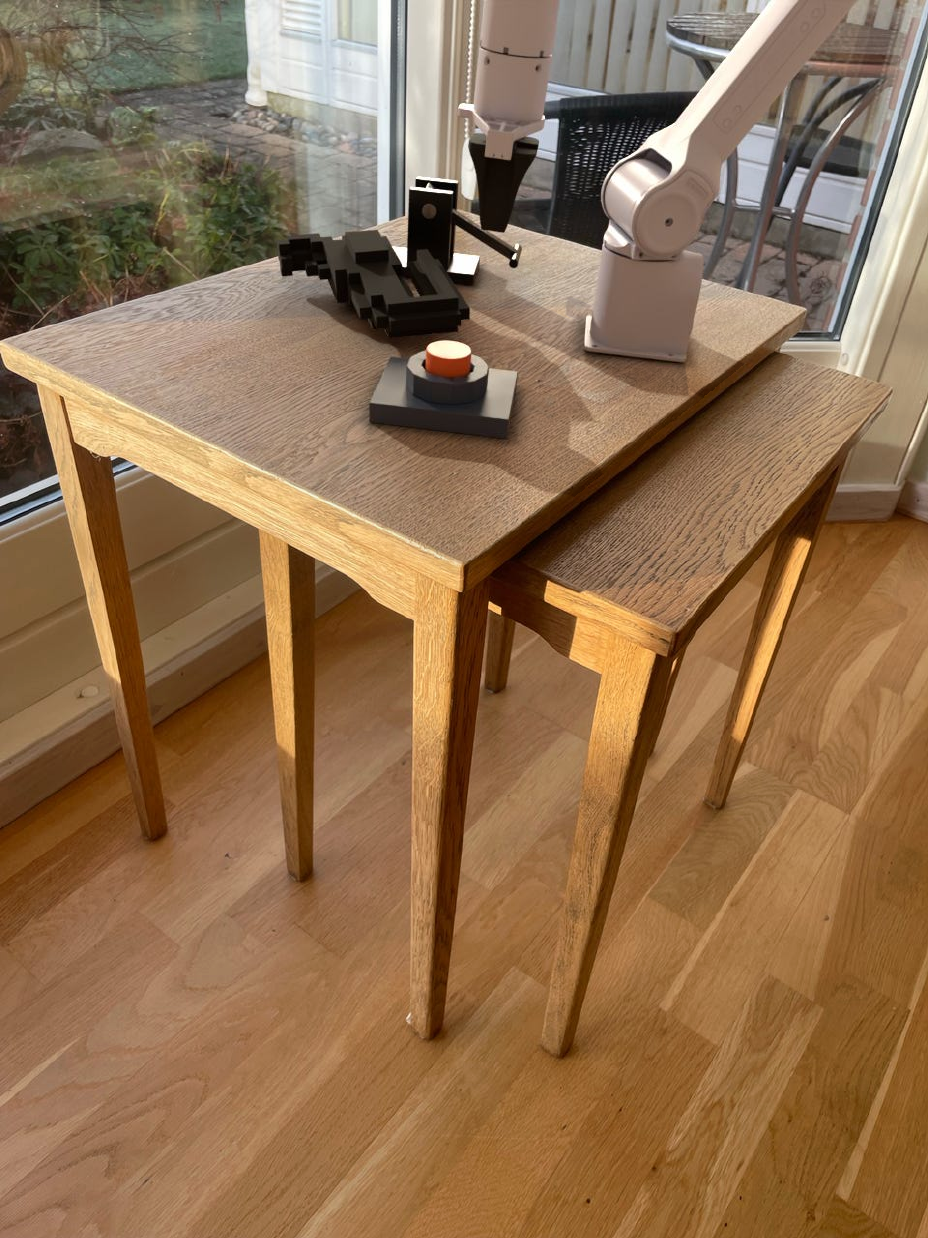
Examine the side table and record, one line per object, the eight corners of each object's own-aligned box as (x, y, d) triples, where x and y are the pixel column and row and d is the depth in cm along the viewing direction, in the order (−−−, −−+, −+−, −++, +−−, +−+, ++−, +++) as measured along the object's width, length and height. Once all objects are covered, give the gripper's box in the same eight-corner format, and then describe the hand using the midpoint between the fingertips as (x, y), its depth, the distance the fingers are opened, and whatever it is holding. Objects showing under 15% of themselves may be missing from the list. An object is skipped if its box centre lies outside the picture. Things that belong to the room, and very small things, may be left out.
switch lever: (515, 260, 107) (527, 241, 105) (511, 276, 103) (523, 256, 101) (419, 199, 104) (430, 178, 102) (412, 212, 100) (423, 191, 99)
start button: (472, 363, 81) (474, 342, 80) (467, 382, 78) (468, 361, 77) (429, 358, 81) (430, 337, 80) (422, 376, 78) (423, 355, 77)
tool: (302, 305, 83) (473, 289, 86) (273, 221, 98) (420, 211, 101) (308, 363, 87) (472, 346, 90) (279, 274, 102) (420, 262, 105)
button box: (516, 389, 85) (520, 351, 82) (506, 439, 78) (511, 398, 75) (389, 374, 85) (390, 335, 83) (369, 422, 78) (369, 381, 76)
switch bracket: (479, 266, 108) (486, 182, 102) (472, 285, 103) (479, 198, 98) (389, 256, 108) (391, 171, 103) (378, 275, 104) (380, 187, 98)
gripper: (474, 30, 83) (457, 199, 91) (454, 57, 71) (436, 247, 80) (557, 42, 83) (532, 210, 91) (550, 71, 71) (523, 260, 80)
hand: (493, 228), depth 85 cm, fingers closed
